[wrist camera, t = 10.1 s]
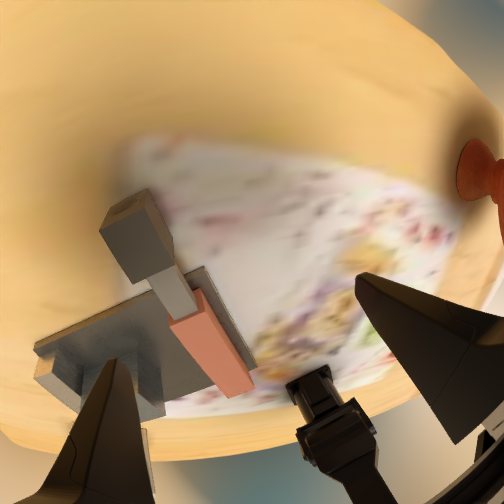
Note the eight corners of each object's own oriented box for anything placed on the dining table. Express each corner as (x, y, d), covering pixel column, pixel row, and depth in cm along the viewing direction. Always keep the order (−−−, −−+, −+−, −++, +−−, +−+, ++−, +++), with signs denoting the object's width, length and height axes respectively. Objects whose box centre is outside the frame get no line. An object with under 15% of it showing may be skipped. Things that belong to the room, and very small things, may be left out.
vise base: (255, 360, 31) (266, 387, 27) (112, 410, 29) (112, 436, 26) (204, 266, 23) (212, 295, 20) (35, 343, 21) (26, 371, 18)
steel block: (161, 375, 26) (166, 415, 22) (110, 392, 26) (109, 430, 22) (137, 350, 24) (138, 393, 20) (84, 370, 23) (79, 409, 19)
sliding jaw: (246, 366, 29) (257, 395, 26) (221, 377, 29) (230, 406, 25) (148, 188, 18) (144, 207, 14) (110, 207, 18) (99, 231, 14)
